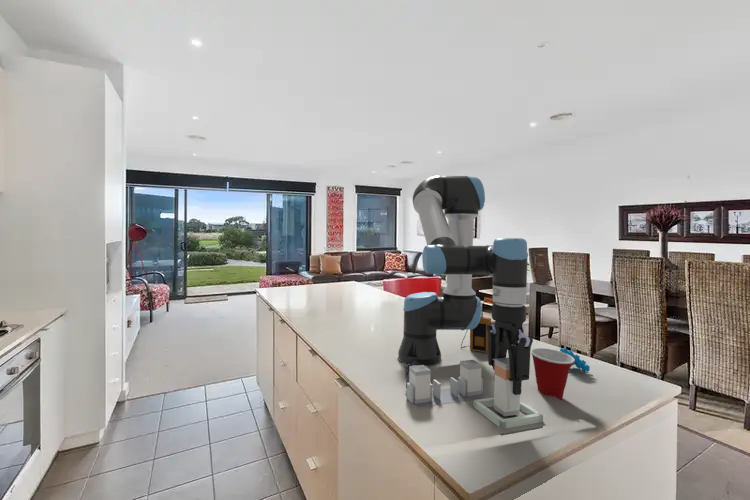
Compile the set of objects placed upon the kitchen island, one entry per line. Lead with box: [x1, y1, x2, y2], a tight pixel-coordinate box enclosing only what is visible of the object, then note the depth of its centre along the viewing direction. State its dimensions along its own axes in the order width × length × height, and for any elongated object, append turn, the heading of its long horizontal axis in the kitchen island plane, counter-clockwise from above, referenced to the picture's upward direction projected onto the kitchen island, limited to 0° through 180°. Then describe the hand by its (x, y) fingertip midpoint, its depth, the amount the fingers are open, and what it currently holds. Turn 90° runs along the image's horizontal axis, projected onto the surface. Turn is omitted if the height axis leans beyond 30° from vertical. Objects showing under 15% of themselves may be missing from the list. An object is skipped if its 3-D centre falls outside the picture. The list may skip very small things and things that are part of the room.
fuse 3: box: [493, 356, 521, 417], centre depth 85 cm, size 4×4×12 cm
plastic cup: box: [530, 347, 575, 401], centre depth 98 cm, size 11×11×12 cm
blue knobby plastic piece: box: [559, 347, 591, 372], centre depth 118 cm, size 11×6×10 cm
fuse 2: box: [459, 359, 483, 396], centre depth 97 cm, size 4×4×8 cm
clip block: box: [404, 375, 488, 408], centre depth 95 cm, size 8×21×6 cm, turn 108°
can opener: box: [404, 361, 419, 390], centre depth 104 cm, size 18×7×6 cm, turn 164°
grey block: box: [409, 365, 432, 404], centre depth 92 cm, size 4×4×8 cm
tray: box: [472, 396, 544, 437], centre depth 85 cm, size 11×11×3 cm
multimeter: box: [460, 300, 495, 354], centre depth 141 cm, size 15×10×20 cm
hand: (506, 402), depth 85 cm, fingers closed on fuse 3, 4 cm apart
